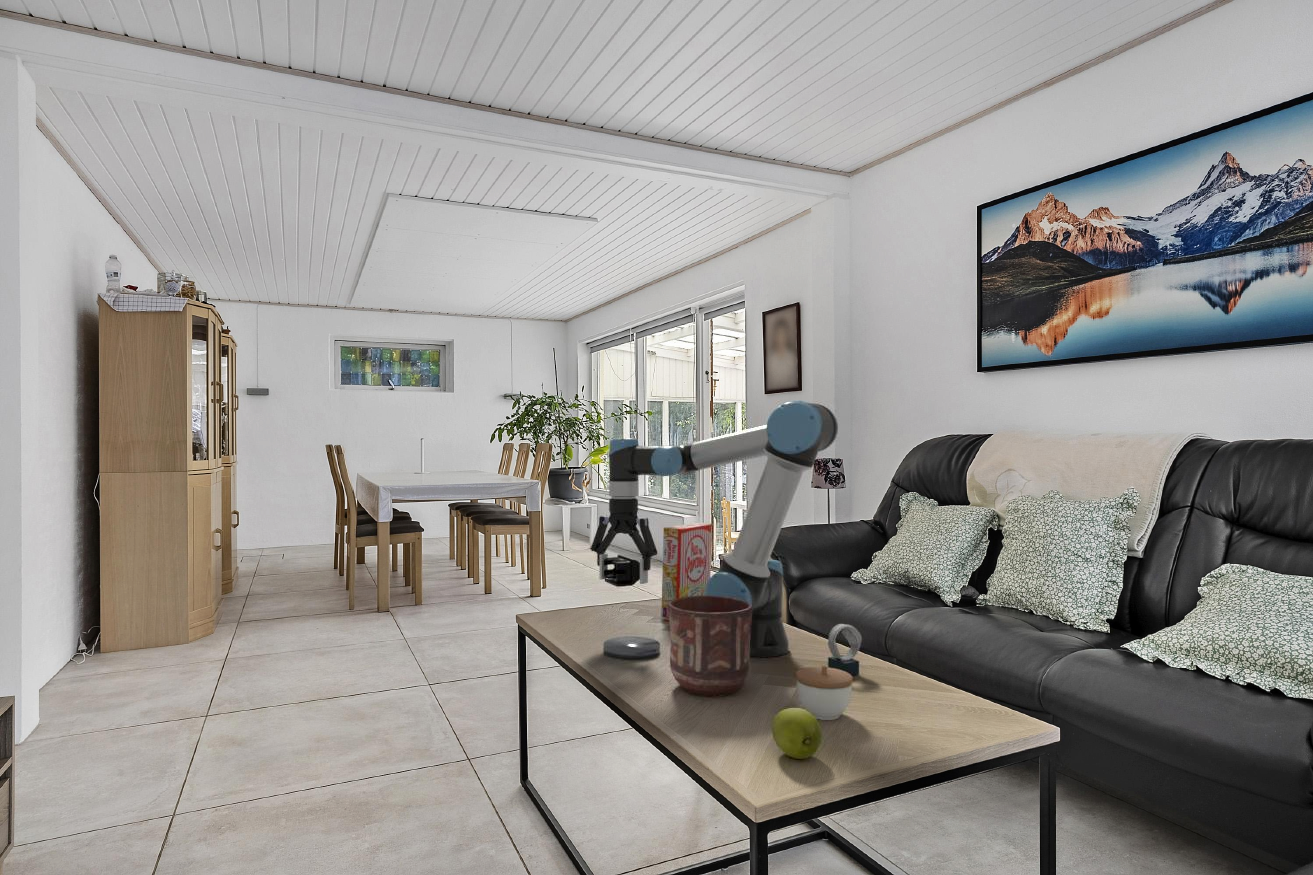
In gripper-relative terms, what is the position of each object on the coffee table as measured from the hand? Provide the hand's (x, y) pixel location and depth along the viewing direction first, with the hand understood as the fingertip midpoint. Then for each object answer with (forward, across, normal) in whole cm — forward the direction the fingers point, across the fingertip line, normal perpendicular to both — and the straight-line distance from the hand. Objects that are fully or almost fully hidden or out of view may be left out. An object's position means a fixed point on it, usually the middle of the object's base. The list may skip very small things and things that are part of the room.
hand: (623, 580), depth 201 cm
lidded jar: (+17, -61, +23) cm, 68 cm away
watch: (+17, -56, -6) cm, 59 cm away
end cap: (+1, 0, 0) cm, 1 cm away
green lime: (+17, -64, +45) cm, 80 cm away
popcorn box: (+16, +2, -37) cm, 41 cm away
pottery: (+17, -35, +21) cm, 44 cm away
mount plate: (+16, -7, +7) cm, 18 cm away
